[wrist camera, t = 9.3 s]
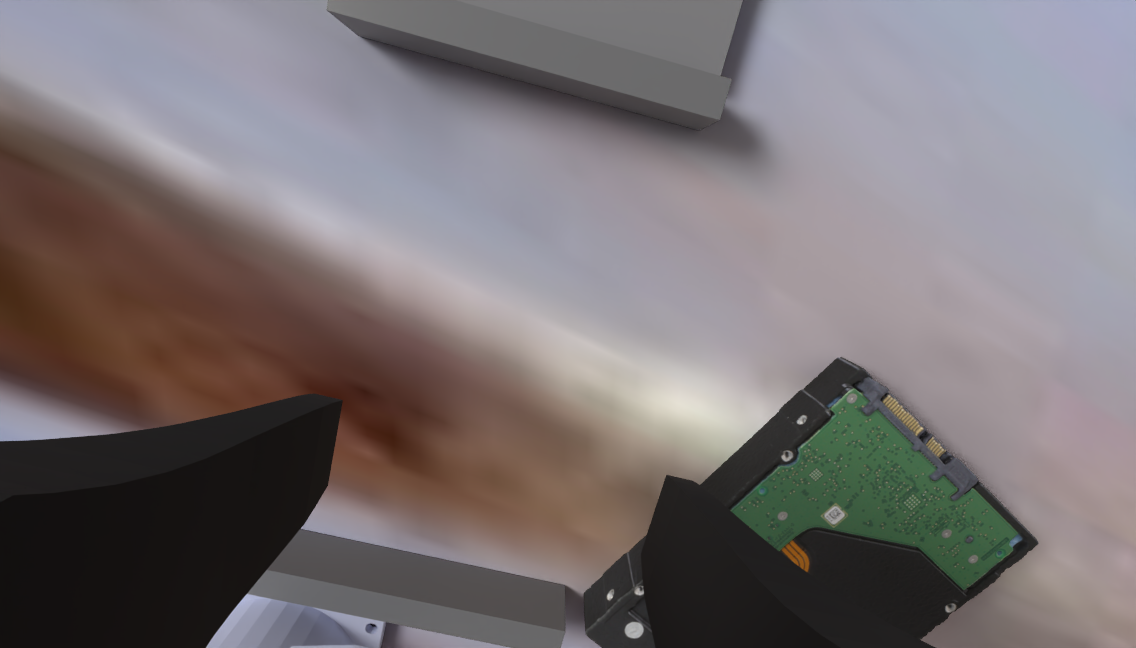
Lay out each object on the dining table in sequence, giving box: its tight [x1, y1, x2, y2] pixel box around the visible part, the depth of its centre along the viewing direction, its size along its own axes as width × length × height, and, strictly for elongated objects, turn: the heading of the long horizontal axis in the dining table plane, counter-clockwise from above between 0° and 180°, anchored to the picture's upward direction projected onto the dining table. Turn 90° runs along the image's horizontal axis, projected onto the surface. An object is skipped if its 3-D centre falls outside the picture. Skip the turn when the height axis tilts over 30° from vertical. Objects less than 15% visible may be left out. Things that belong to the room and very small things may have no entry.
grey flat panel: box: [247, 0, 743, 648], centre depth 18 cm, size 30×12×2 cm, turn 166°
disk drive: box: [584, 357, 1038, 648], centre depth 22 cm, size 10×3×15 cm
